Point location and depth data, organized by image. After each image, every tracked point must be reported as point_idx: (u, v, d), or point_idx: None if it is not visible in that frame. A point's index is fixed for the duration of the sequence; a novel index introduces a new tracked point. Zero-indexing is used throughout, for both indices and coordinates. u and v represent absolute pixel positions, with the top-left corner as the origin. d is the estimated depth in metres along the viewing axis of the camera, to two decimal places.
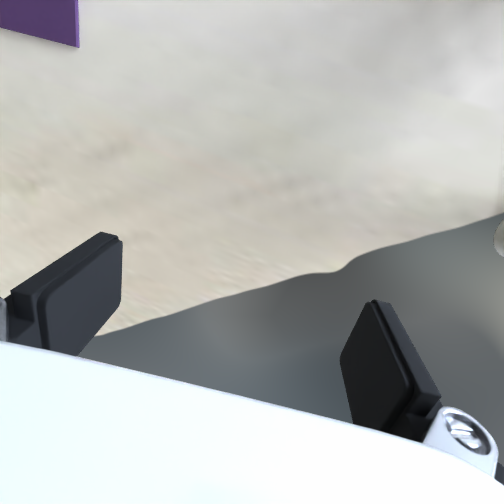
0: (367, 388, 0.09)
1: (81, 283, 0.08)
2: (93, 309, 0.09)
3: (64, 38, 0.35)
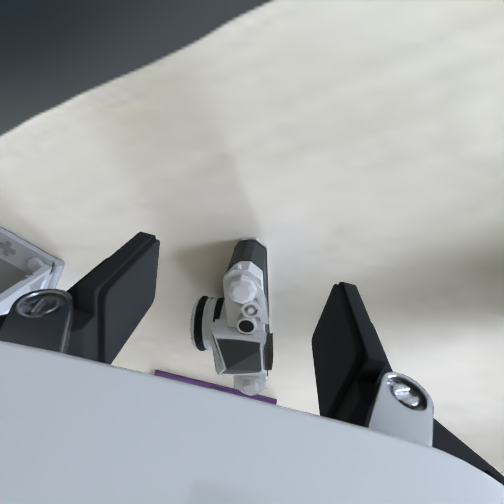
0: (329, 362, 0.10)
1: (129, 279, 0.09)
2: (135, 304, 0.10)
3: None
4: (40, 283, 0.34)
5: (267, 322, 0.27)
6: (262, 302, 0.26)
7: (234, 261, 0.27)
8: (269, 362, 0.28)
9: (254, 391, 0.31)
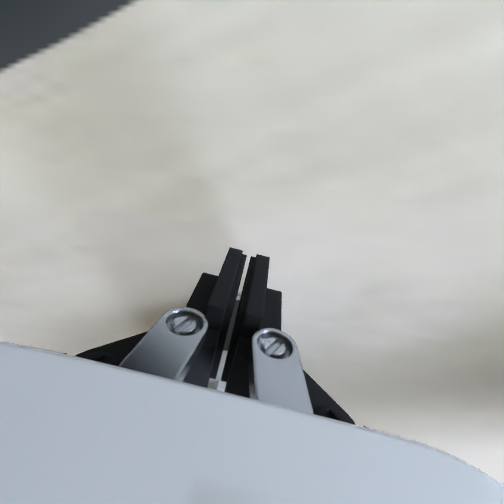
0: (233, 327, 0.10)
1: None
2: None
3: None
4: None
5: None
6: None
7: None
8: None
9: None
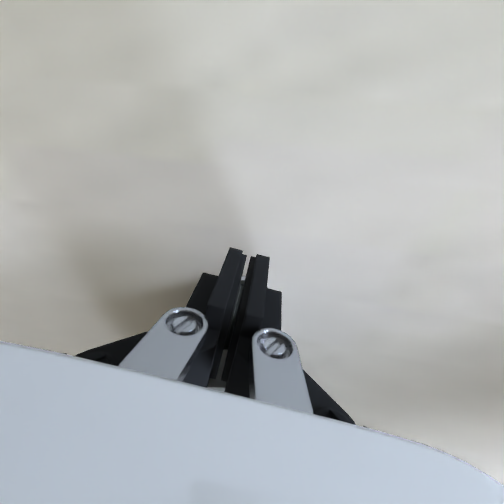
0: (233, 327, 0.10)
1: None
2: None
3: None
4: None
5: None
6: None
7: None
8: None
9: None
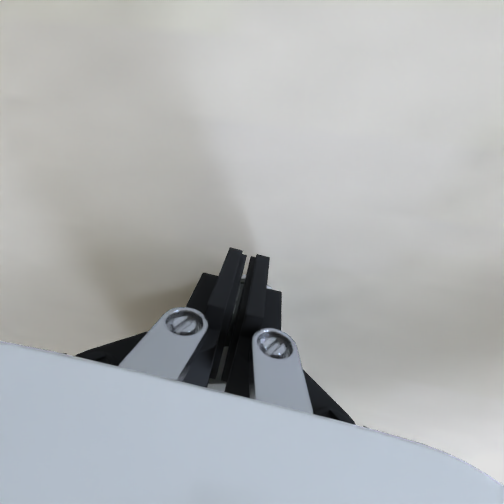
0: (233, 327, 0.10)
1: None
2: None
3: None
4: None
5: None
6: None
7: None
8: None
9: None
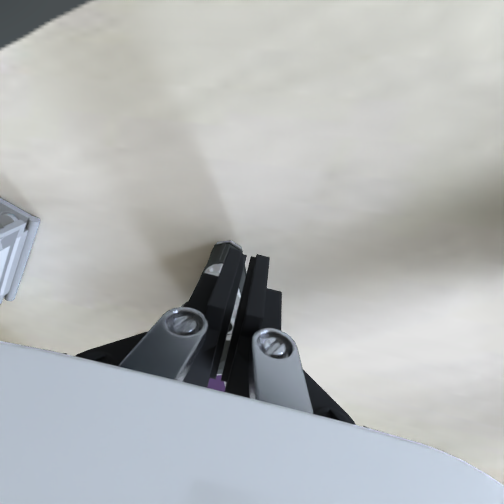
0: (233, 327, 0.10)
1: None
2: None
3: None
4: (13, 239, 0.32)
5: None
6: (237, 301, 0.27)
7: (207, 265, 0.28)
8: None
9: None
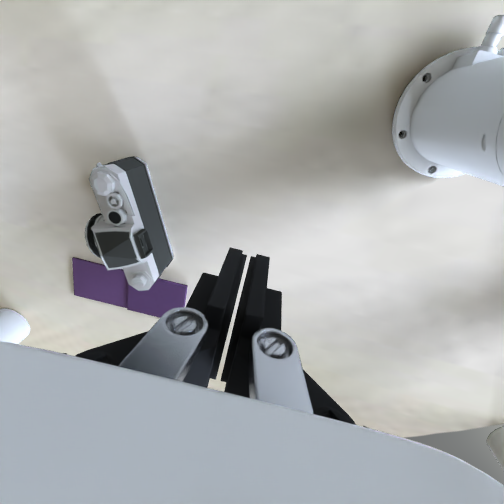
0: (233, 327, 0.10)
1: None
2: None
3: None
4: None
5: (132, 213, 0.33)
6: (123, 194, 0.32)
7: None
8: (142, 250, 0.34)
9: (141, 283, 0.36)
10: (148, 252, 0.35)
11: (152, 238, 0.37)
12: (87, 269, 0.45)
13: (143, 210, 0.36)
